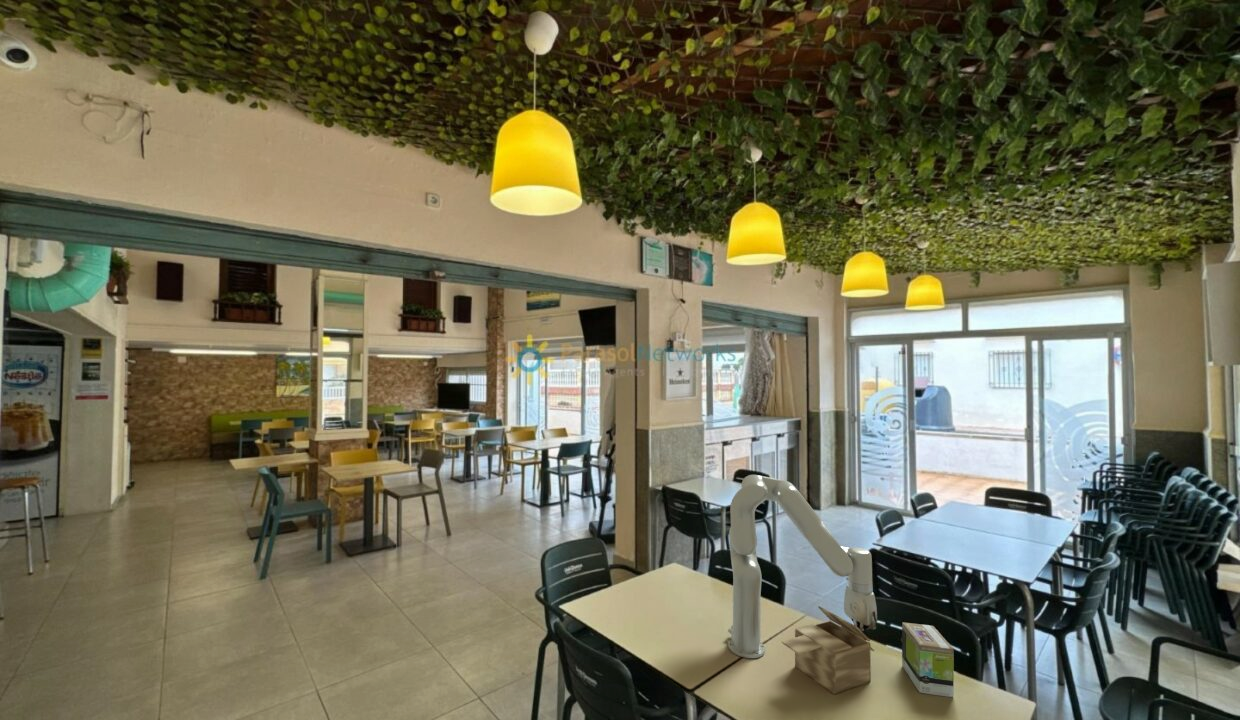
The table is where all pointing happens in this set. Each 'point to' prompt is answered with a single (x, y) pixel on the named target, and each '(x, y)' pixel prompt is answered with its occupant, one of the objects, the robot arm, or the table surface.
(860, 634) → the far flap
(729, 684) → the table surface
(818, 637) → the near flap
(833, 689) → the carton
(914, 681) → the tea box
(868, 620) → the robot arm
